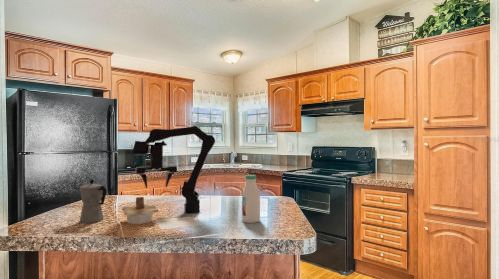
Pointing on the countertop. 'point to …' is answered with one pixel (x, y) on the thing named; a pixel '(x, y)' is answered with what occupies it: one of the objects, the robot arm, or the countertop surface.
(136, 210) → the board
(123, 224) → the countertop surface
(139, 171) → the robot arm
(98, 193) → the coffeepot
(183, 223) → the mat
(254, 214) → the milk bottle
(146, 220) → the ramekin
